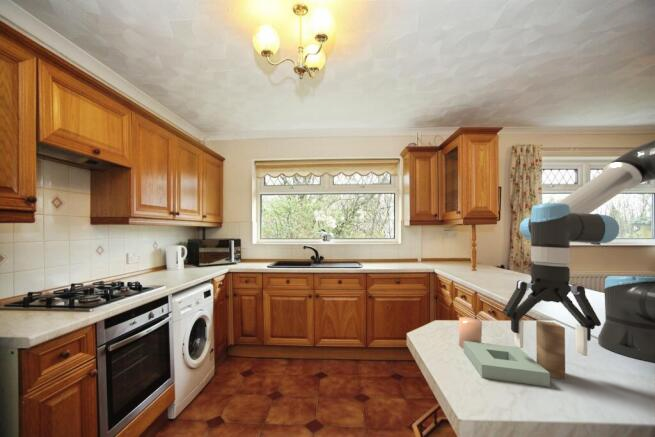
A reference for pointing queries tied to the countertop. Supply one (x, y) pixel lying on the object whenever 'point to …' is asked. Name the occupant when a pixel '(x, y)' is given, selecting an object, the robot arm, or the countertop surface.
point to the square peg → (551, 348)
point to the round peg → (469, 330)
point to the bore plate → (505, 363)
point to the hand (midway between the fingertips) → (549, 349)
